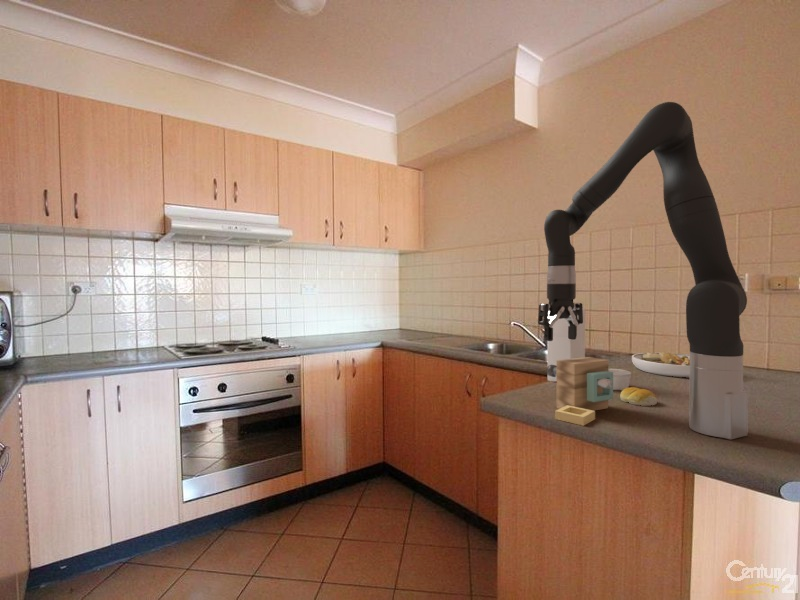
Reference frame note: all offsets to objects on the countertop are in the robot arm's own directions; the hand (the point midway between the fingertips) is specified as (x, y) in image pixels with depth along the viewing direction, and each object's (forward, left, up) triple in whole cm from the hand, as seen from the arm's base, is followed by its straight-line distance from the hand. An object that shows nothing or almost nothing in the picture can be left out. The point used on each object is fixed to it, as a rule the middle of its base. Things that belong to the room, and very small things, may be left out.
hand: (560, 340), depth 113 cm
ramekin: (+5, -27, -18) cm, 33 cm away
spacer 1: (-14, +9, -17) cm, 24 cm away
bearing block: (-8, 0, -17) cm, 19 cm away
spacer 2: (-13, 0, -14) cm, 19 cm away
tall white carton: (+17, -20, -18) cm, 32 cm away
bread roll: (-10, -19, -18) cm, 28 cm away
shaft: (-6, 0, -11) cm, 12 cm away
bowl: (+12, -71, -18) cm, 74 cm away
